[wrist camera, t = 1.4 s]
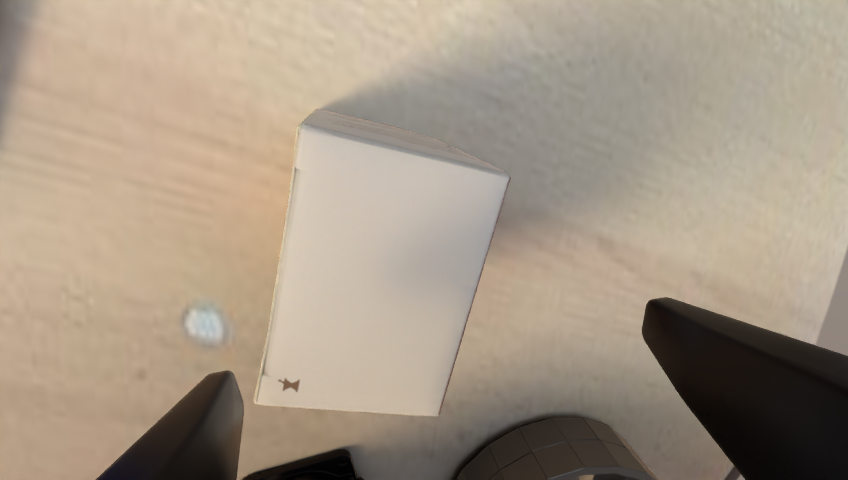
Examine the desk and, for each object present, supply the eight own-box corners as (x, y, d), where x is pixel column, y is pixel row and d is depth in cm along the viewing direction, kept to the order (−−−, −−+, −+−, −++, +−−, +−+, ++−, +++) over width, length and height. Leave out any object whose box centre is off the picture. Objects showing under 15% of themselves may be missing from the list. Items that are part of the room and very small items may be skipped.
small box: (394, 282, 23) (440, 426, 13) (286, 266, 21) (249, 414, 12) (432, 133, 21) (520, 174, 11) (314, 104, 19) (296, 120, 10)
